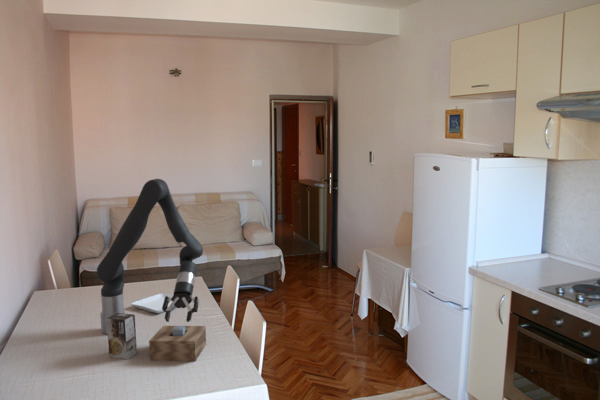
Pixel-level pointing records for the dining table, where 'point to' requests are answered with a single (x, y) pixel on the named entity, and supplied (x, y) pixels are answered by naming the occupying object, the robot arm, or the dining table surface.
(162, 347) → the wooden socket block
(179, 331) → the slate peg
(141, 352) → the dining table surface
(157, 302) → the salad plate
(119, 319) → the coffee box
